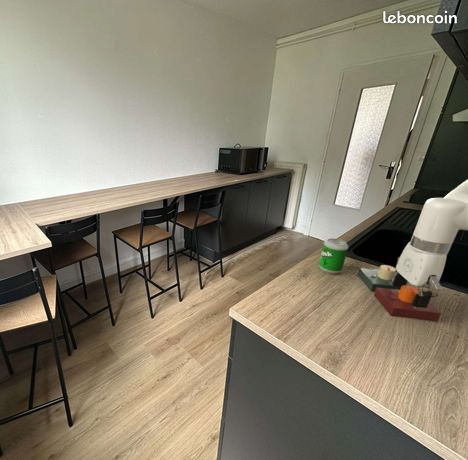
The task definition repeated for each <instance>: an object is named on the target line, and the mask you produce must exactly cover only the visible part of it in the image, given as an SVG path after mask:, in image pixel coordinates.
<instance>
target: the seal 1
mask: <svg viewBox="0 0 468 460" xmlns="http://www.w3.org/2000/svg"><path fill="white" fill-rule="evenodd" d="M378 270H379V272H378V275H377V276H378V277H379V278H381V279H384V280H392V279H393V277H394V274H395V271H396V267H393V266H392V265H387V264H382V265H380V266H379V269H378Z"/></svg>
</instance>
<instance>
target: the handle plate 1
mask: <svg viewBox="0 0 468 460" xmlns="http://www.w3.org/2000/svg"><path fill="white" fill-rule="evenodd" d="M378 272H379V269H374V268H365V267H363V268H362V267H359V269H358V272H357V276H358V278H359V279H360V280H361V281H362V282H363V284H364V286H366V288H367V289H368V290H369V291H370V292H374V293H375V290H376V288H386V289H396V290H400V289H401V287H395V286H393V285H392V284H393V281H394V278H395V276H396V275H397V274H396V271H395V274H394V277H393V279H392V280H384V279H381V278H379V277H378V276H377V275H378ZM406 285H407V286H412V284H411V283H409V282H408V281H407V284H406Z"/></svg>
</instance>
